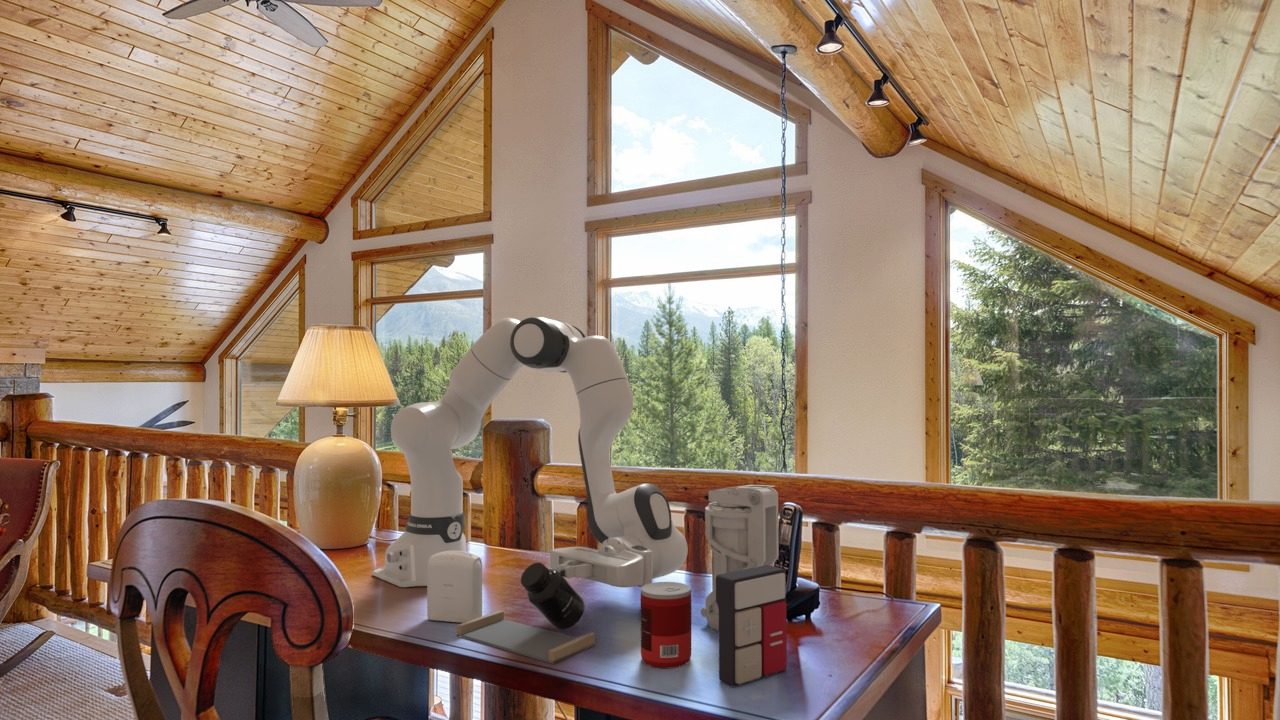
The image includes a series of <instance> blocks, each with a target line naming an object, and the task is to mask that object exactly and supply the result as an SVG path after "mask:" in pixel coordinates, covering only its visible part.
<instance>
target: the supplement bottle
mask: <svg viewBox="0 0 1280 720" xmlns="http://www.w3.org/2000/svg"><path fill="white" fill-rule="evenodd" d="M520 584H521V585H522V587H523V588H524V589H525V591H526V596H527V597H526V598H527V600H528V602H529V603H530V604H531V605H532V606H533V607H534V608H535V609H536V610H537V611H538V612H539V613H540V614H541V615H542V616H543V617H544V618H545V619H546V620H547V622H549V623H550V624H551V625H552V627H554V628H555V629H557V630H561V631H562V630H563V631H566V630H569V629H571V628H572V627H574V626H575V625H577V623H579V622H580V620H581V618H582V617H583V615H584V613H585V607H586V603H585V601H584V598H583V597H582V596H581V594H580V593H579V592H578V591H577V590H576V589H575V588H574V587H573V586H572V585H571V584H570V583H569V581H568V580H567V579H566V577H563V576H562V575H561V574H560V573H559V572H558V571H556V570H553V569H551V568H548V567H547V566H546V565H545V564H543V563H542V562H535V563H532V564H530V565H529V566H527V567H526V568H525V570H524V571H523V573H522V574H521V577H520Z"/></svg>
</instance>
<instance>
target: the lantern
mask: <svg viewBox="0 0 1280 720" xmlns="http://www.w3.org/2000/svg"><path fill="white" fill-rule="evenodd" d="M775 487H777V485H766V484H745V485H739V486H732V487H724V488H718V489H712V490H708V502H709V503H708V505H707V506H705V508H704V509H705V512H704V514H705V515H704V520H705V521H704V526H705V530H704V532H705V533H704V535H705V538H706V540H707V541H708V544H709V545H708V549H710V550H711V554H712V555H711V584H712V585H711V586H712V587H711V589H712V590H711V592H710V593H709V594H708V595H707V597H705V599H704V600H705V607H702V608H701V609H700V614H701V616H702V617H703V618H706V621H707V625H708V627H710V628H711V629H713V630H715V631H718V632H719V608H718V605H717V602H716V576H717V575H719V574H724V573H729V572H734V571H739V570H744V569H749V568H754V567H759V566H764V565H770V566H773V565H774V563H776V561H777V559H778V558H779V555H780V554H779V543H780V542H779V540H780V539H779V493H778V491H777V489H775Z"/></svg>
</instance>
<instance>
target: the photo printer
mask: <svg viewBox="0 0 1280 720" xmlns="http://www.w3.org/2000/svg"><path fill="white" fill-rule="evenodd" d="M426 587H427V588H426V597H427V599H426V600H427V602H426V604H427V606H426V610H427V615H426V616H427V619H428V620H429V621H439V622H452V623H460V624H461V623H464V622H467V621H470V620H473V619H476V618H479V617H482V616H483V562H482V559H481V557H479V556H478V555H476V554H474V553H471V552H468V551H467V552H463V551H444V552H440V553H437V554H434V555H432V556H431V557H430V559H429V561H428V566H427V586H426Z"/></svg>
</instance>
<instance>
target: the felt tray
mask: <svg viewBox="0 0 1280 720" xmlns="http://www.w3.org/2000/svg"><path fill="white" fill-rule="evenodd" d="M456 636H457V637H460V636H461V637H460V638H463V639H466V638H467V640H470V639H471V640H470V641H473V640H474V642H478V643H480V644H483V643H484V644H483V645H487V646H491V647H494V648H498V649H502V650H505V651H509V652H512V653H515V654H518V655H520V656H526V657H527V658H528V657H529V658H532V659H535V660H539V661H542V662H545V663H549V664H553V665H554V664H557V663H559V662H561V661H563V660H566V659H567V658H569V657H572V656H575V655H576V654H579V653H580V651H581V652H583V651H585V650H587V649H589V648H591V646H592V647H593V645H594V646H596V645H595V641H596V639H595V637H596V636H595V633H593V632H588V633H586V634H584V635H581V636H580V637H574V636H571V635H568V634H563V633H558V632H555V631H550V630H547V629H544V628H539V627H535V626H531V625H528V624H524V623H520V622H517V621H513V620H508V619H505V611H504V610H501V609H499V610H497V611H494V612H491V613H489V614H485V615H482V617H479V618H476V619H473V620H470V621H467V622H464V623H461V622H460V623H459V624H456ZM588 647H589V648H588ZM586 648H587V649H586ZM582 650H583V651H582Z"/></svg>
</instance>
